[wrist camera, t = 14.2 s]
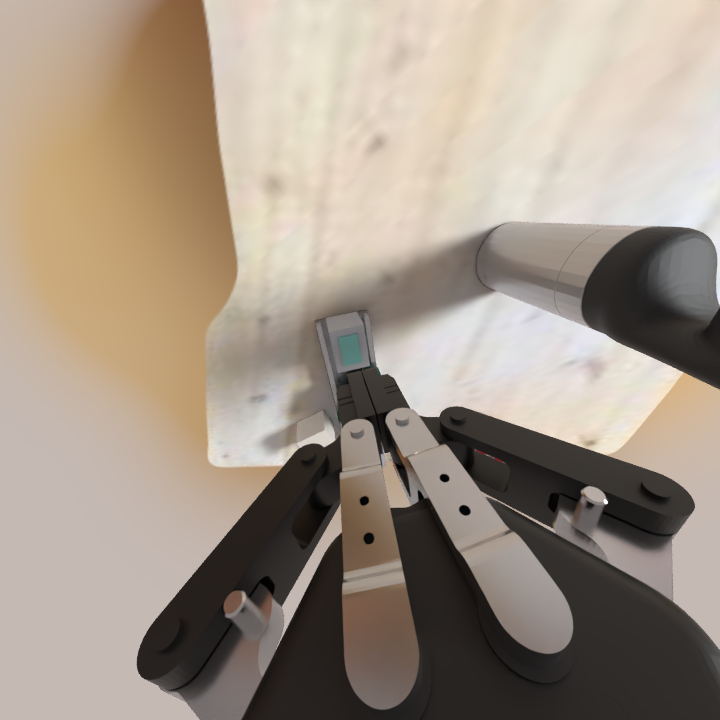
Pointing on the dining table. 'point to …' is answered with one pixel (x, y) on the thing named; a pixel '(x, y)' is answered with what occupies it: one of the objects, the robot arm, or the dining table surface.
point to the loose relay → (315, 430)
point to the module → (348, 341)
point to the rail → (324, 338)
